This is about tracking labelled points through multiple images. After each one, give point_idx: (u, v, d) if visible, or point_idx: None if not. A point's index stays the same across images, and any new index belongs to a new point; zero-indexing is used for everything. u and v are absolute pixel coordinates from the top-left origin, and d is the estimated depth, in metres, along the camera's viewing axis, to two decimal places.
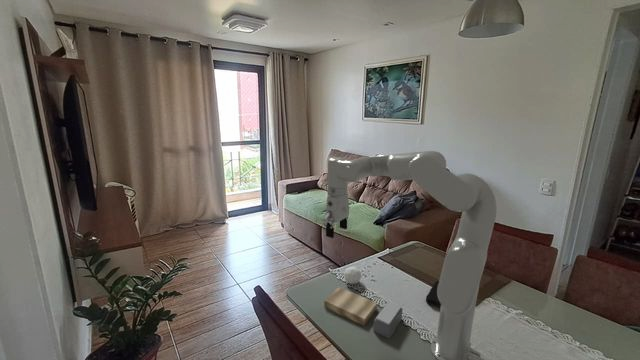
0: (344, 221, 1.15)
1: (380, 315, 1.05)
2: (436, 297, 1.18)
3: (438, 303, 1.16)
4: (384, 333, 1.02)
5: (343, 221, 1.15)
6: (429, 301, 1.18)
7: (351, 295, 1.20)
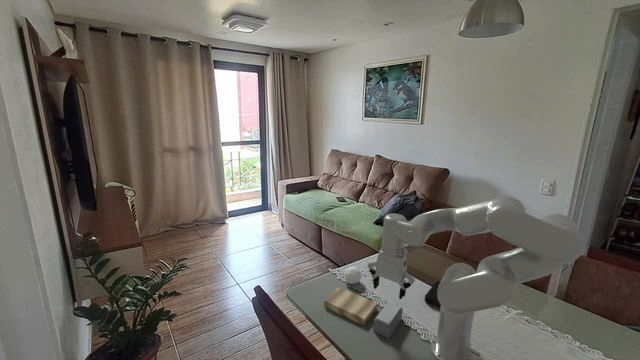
0: (378, 278, 1.07)
1: (380, 315, 1.05)
2: (435, 297, 1.18)
3: (436, 302, 1.16)
4: (384, 333, 1.02)
5: (378, 279, 1.06)
6: (427, 300, 1.18)
7: (351, 295, 1.20)
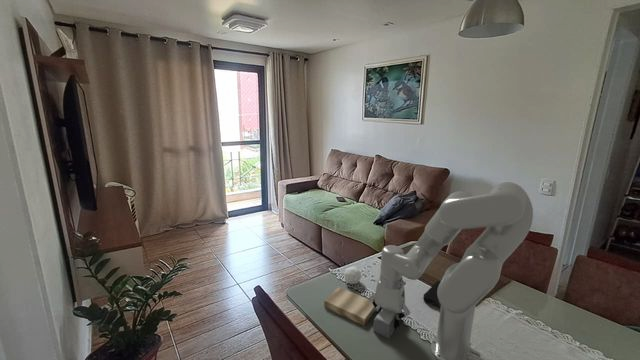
0: None
1: (380, 314, 1.05)
2: (433, 296, 1.19)
3: (434, 302, 1.16)
4: (384, 332, 1.02)
5: None
6: (426, 299, 1.19)
7: (351, 295, 1.20)
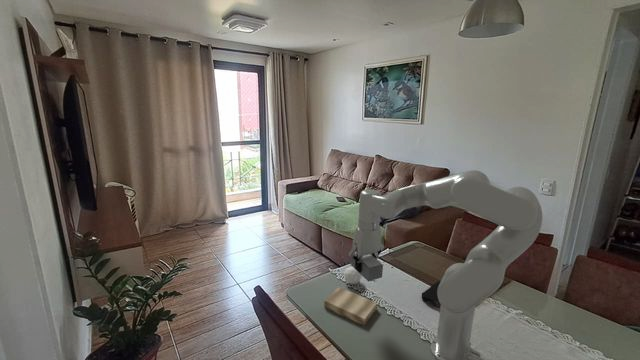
0: None
1: (368, 262, 1.03)
2: (431, 295, 1.19)
3: (431, 301, 1.17)
4: (378, 275, 1.04)
5: None
6: (423, 298, 1.20)
7: (351, 295, 1.20)
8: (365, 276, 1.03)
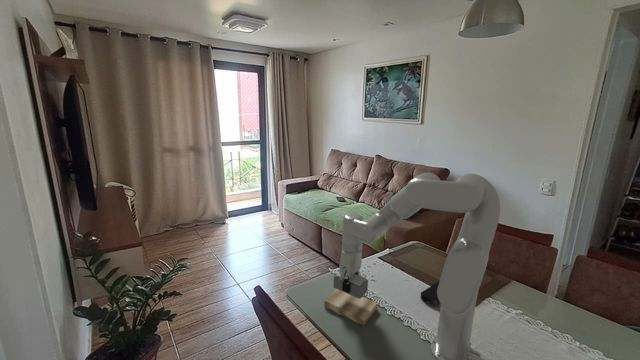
0: None
1: (356, 281, 1.10)
2: (430, 295, 1.20)
3: (430, 300, 1.18)
4: (365, 290, 1.12)
5: None
6: (422, 297, 1.20)
7: (351, 295, 1.20)
8: (355, 295, 1.10)
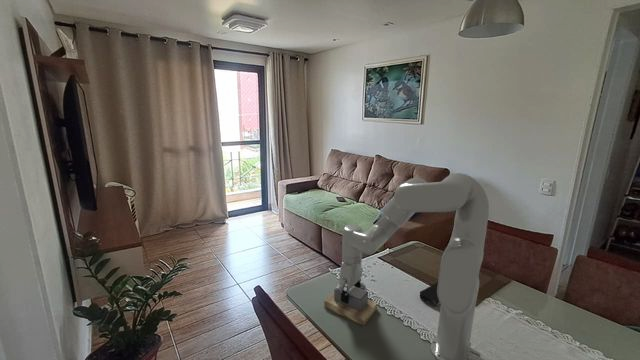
0: None
1: (356, 294, 1.11)
2: (429, 294, 1.20)
3: (429, 299, 1.18)
4: (365, 302, 1.13)
5: None
6: (421, 296, 1.21)
7: None
8: (356, 307, 1.11)
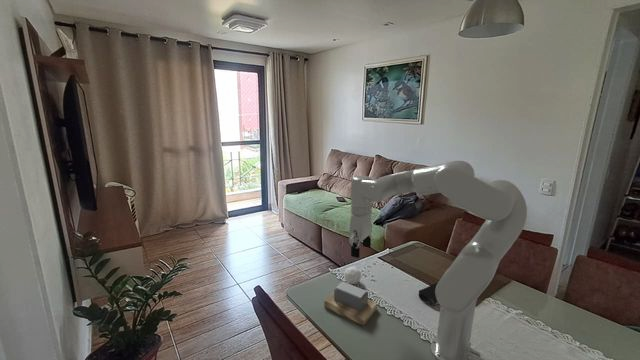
0: None
1: (356, 294, 1.11)
2: (428, 293, 1.21)
3: (427, 298, 1.19)
4: (365, 302, 1.13)
5: None
6: (420, 295, 1.21)
7: None
8: (356, 307, 1.11)
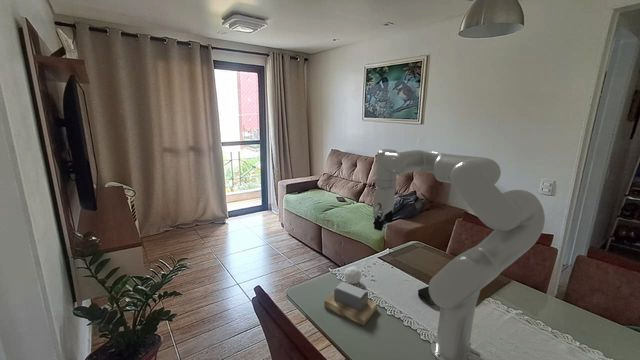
0: None
1: (356, 294, 1.11)
2: (427, 293, 1.21)
3: (426, 298, 1.19)
4: (365, 302, 1.13)
5: None
6: (419, 294, 1.22)
7: None
8: (356, 307, 1.11)
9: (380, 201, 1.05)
